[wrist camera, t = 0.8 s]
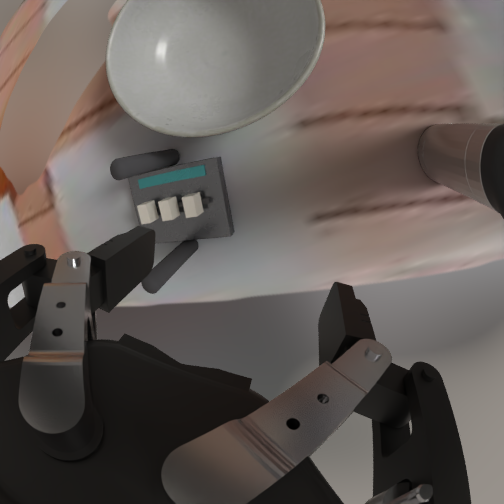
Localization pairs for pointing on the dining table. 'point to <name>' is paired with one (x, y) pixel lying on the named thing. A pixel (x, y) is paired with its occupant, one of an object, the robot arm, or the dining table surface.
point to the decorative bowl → (210, 60)
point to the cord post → (169, 266)
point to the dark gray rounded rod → (142, 163)
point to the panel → (181, 184)
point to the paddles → (170, 208)
